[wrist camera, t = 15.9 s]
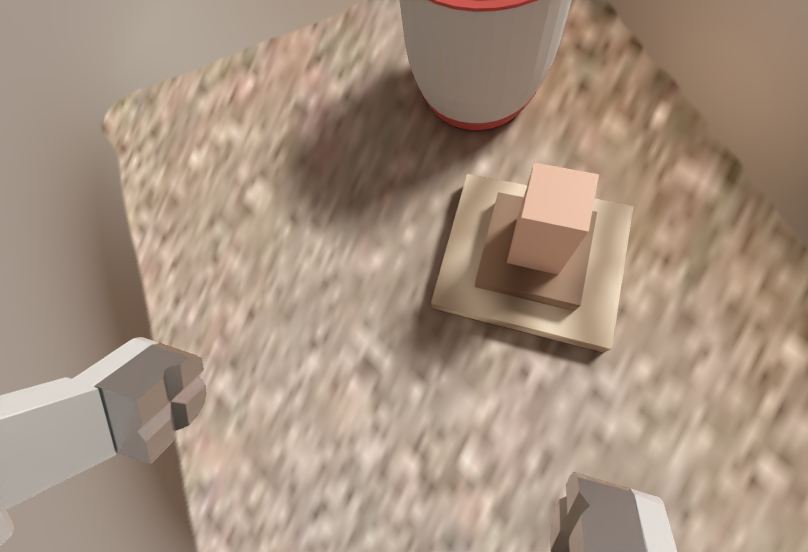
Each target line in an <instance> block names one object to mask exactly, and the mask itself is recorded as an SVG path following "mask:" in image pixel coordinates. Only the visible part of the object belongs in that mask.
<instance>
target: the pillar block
mask: <svg viewBox="0 0 808 552" xmlns="http://www.w3.org/2000/svg"><path fill="white" fill-rule="evenodd" d="M598 177H599V174H593V173H588V172H582V171H577V170H571V169H566V168H561V167H555V166H550V165H544V164H539V163H534V165H533V168H532V172H531V175H530V178H529V182H528V185H527V188H526V191H525V195H524V198H523V201H522V204H521V208H520V211H519V214H518V217H517V221H516V226H515V230H514V234H513V238H512V243H511V247H510V251H509V255H508V260H507V263H509V264H513V265H518V266H522V267H526V268H531V269H535V270H539V271H544V272H548V273H553V274H557V275H559V273H560V272H561V271H562V269H563V268H564V266H565V265H566V263H567V262H568V260H569V259H570V258H571V256H572V255H573V253H574V252H575V250H576V249H577V248H578V246H579V245H580V243H581V242H582V240H583V239H584V238H585V236H586V235H587V233H588V232H589V227H590V221H591V216H592V210H593V205H594V199H595V194H596V188H597V183H598Z"/></svg>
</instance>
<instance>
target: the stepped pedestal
mask: <svg viewBox="0 0 808 552" xmlns="http://www.w3.org/2000/svg"><path fill="white" fill-rule="evenodd" d="M526 188H527V185H522V184H517V183H511V182H506V181H501V180H496V179H491V178H486V177H480V176H475V175H470V174H467V176H466V180H465V184H464V187H463V191H462V194H461V198H460V201H459V205H458V208H457V212H456V215H455V219H454V223H453V226H452V230H451V233H450V237H449V240H448V244H447V247H446V251H445V254H444V258H443V262H442V265H441V269H440V272H439V276H438V279H437V283H436V286H435V290H434V294H433V297H432V301H431V307H432V309H436V310H440V311H444V312H448V313H451V314H455V315H459V316H463V317H467V318H471V319H475V320H479V321H483V322H487V323H490V324H494V325H498V326H502V327H506V328H510V329H514V330H518V331H522V332H525V333H529V334H533V335H537V336H541V337H545V338H549V339H553V340H557V341H561V342H564V343H568V344H572V345H576V346H580V347H584V348H588V349H592V350H596V351H600V352H603V353H604V352H606V351H608V350H610V349H612V343H613V336H614V330H615V323H616V317H617V310H618V303H619V297H620V290H621V284H622V277H623V271H624V264H625V257H626V251H627V244H628V238H629V231H630V225H631V218H632V211H633V206H630V205H625V204H620V203H615V202H610V201H604V200H599V199H594V205H593V210H592V216H591V221H590V227H589V232H588V233H587V235H586V236H585V238H584V239H583V240H582V242H581V243H580V245H579V246H578V248H577V249H576V250H575V252H574V253H573V255H572V256H571V258H570V259H569V260H568V262H567V263H566V265H565V266H564V268H563V269H562V271H561V272H560V273H559V275H557V274H553V273H548V272H544V271H539V270H535V269H531V268H526V267H522V266H518V265H513V264H509V263H507V260H508V255H509V251H510V247H511V243H512V238H513V234H514V230H515V226H516V221H517V217H518V214H519V211H520V208H521V204H522V201H523V198H524V195H525V191H526Z"/></svg>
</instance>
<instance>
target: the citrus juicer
mask: <svg viewBox="0 0 808 552" xmlns="http://www.w3.org/2000/svg"><path fill="white" fill-rule="evenodd" d="M571 1H572V0H400V8H401V15H402V23H403V31H404V38H405V45H406V50H407V55H408V60H409V64H410V67H411V69H412V72H413V75H414V77H415V80H416V82H417V85H418V87H419V89H420V91H421V94H422V96H423V98H424V99H425V101H426V102H427V103H428V105H429V106H430V108H431V109H432V110H433V111H434V113H435V114H436V115H437V116H438V117H440V118H441V119H442V120H443V121H445V122H447V123H448V124H450V125H452V126H455V127H458V128H461V129H467V130H485V129H491V128H494V127H497V126H500V125H503V124H504V123H506V122H508V121H510V120H511V119H513V118H514V117H515V116H516V115H517V114H519V113H520V112H521V111H522V110H523V109H524V108H525V106H526V105H527V104H528V103H529V102H530V101H531V99H532V98H533V97H534V95H535V93H536V91H537V90H538V88H539V87H540V85H541V84H542V82H543V80H544V78H545V76H546V74H547V72H548V70H549V68H550V66H551V64H552V62H553V60H554V58H555V55H556V52H557V50H558V47H559V44H560V41H561V37H562V34H563V30H564V26H565V23H566V19H567V16H568V12H569V8H570V5H571Z"/></svg>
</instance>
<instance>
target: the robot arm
mask: <svg viewBox="0 0 808 552" xmlns="http://www.w3.org/2000/svg"><path fill="white" fill-rule="evenodd" d="M203 370H204V369H203V363H202V358H200V357H198V356H196V355H194V354H191V353H188V352H185V351H182V350H179V349H176V348H173V347H171V346H168V345H165V344H162V343H158V342H155V341H152V340H149V339H146V338H143V337H139V338H135V339H132V340H130V341H129V342H127V343H126V344H124V345H123V346H121V347H120V348H118V349H117V350H115V351H114V352H112V353H111V354H109V355H108V356H106V357H105V358H103V359H102V360H100V361H99V362H97V363H96V364H94V365H93V366H91V367H90V368H88V369H87V370H85V371H84V372H82V373H81V374H79V375H78V376H76V377H75V378H73V379H69V378H62V379H58V380H55V381H52V382H48V383H44V384H40V385H37V386H33V387H29V388H26V389H22V390H18V391H15V392H11V393H8V394H4V395H0V546H1V545H2V544H3V543H4V542H5V541H6V540H7V539H8V538H9V537H11V536H12V534H13V530H14V525H13V523H12V521H11V519H10V517H9V515H8V513H7V511H6V509H8V508H10V507H12V506H14V505H16V504H18V503H20V502H22V501H24V500H26V499H28V498H30V497H32V496H34V495H36V494H39V493H41V492H43V491H45V490H46V489H49V488H50V487H52V486H55V485H57V484H59V483H61V482H62V481H64V480H67V479H69V478H70V477H73V476H75V475H77V474H79V473H81V472H82V471H85V470H87V469H89V468H91V467H93V466H95V465H97V464H99V463H101V462H103V461H105V460H107V459H109V458H111V457H113V456H115V455H116V453H119V454H122V455H125V456H128V457H131V458H134V459H136V460H140V461H143V462H145V463H148V464H152V462H154V460H155V459H156V458H157V457H158V456H159V455H160V454H161V453H162V452H163V451H164V450H165V449H166V448H167V447H168V446H169V445H170V444H171V443H172V442H173V441H174V438H175V431H176V430H179V429H181V428H184V427H186V426H189V425H190V424H191V423H192V422H193V420H194V419H195V418H196V417H197V416H198V415H199V413H200V411H201V409H202V407H203V405H204V403H205V398H206V385H205V384H204V382H203V381H202V379H201V378H200V377H199V375H200V374H201V372H202V371H203ZM566 494H567V496H566V497H564V498H562V499H559V501H558V504H557V506H556V509H555V511H554V516H553V520H552V525H551V537H550V542H551V552H677V549H676V545H675V542H674V538H673V535H672V531H671V528H670V524H669V521H668V517H667V514H666V510H665V506H664V503H663V502H662V501H661V499H660V498H659V497H656V496H653V495H650V494H646V493H643V492H640V491H636V490H633V489H628V488H627V487H623V486H620V485H617V484H613V483H610V482H607V481H603V480H600V479H597V478H593V477H590V476H586V475H583V474H580V473H576V472H573V473H572V474H571V475H570V477H569V479H568V481H567V483H566Z"/></svg>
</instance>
